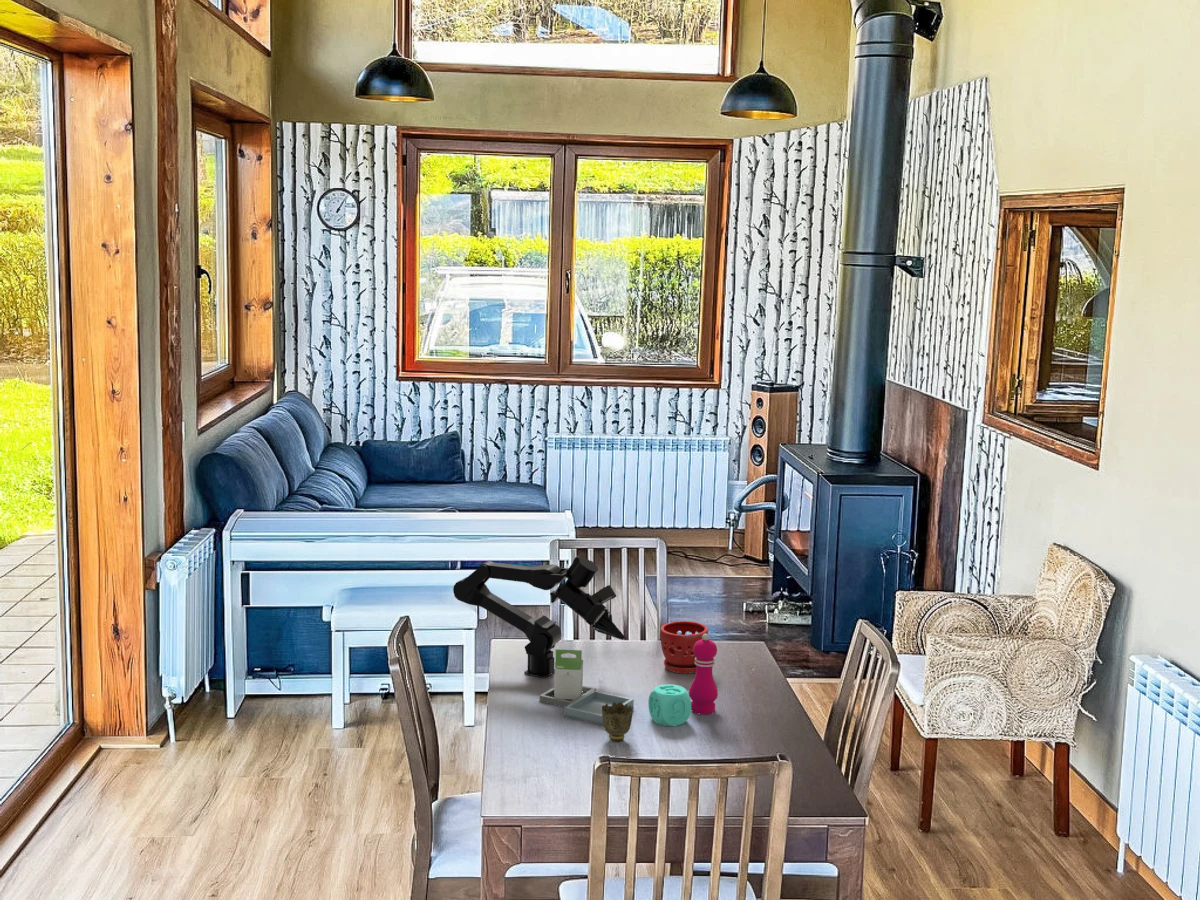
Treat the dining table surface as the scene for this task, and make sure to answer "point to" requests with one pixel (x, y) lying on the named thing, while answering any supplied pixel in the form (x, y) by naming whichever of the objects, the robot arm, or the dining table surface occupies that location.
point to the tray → (593, 706)
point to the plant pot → (680, 645)
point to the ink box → (568, 675)
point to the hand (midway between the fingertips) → (622, 637)
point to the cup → (617, 720)
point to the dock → (546, 698)
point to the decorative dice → (669, 705)
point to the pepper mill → (704, 677)
